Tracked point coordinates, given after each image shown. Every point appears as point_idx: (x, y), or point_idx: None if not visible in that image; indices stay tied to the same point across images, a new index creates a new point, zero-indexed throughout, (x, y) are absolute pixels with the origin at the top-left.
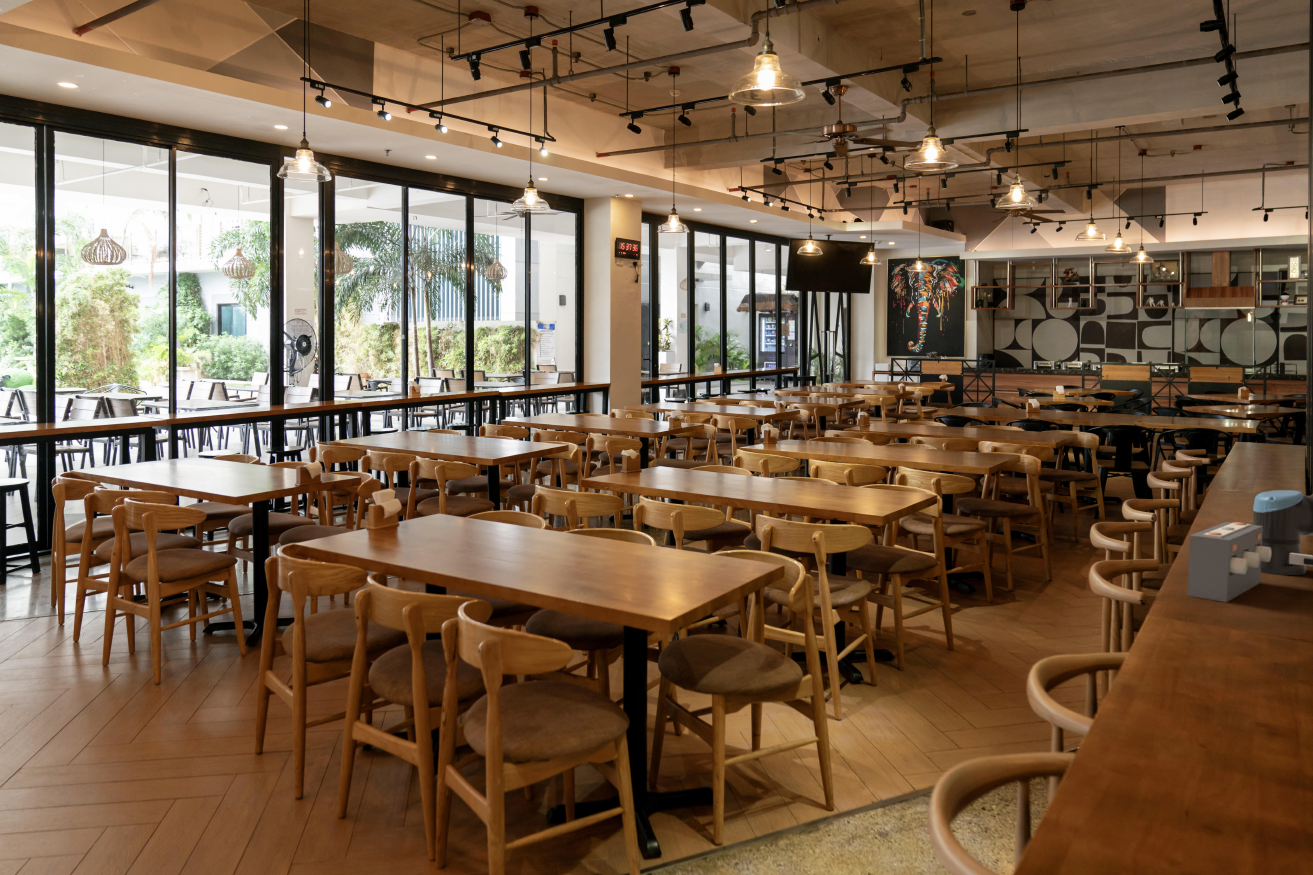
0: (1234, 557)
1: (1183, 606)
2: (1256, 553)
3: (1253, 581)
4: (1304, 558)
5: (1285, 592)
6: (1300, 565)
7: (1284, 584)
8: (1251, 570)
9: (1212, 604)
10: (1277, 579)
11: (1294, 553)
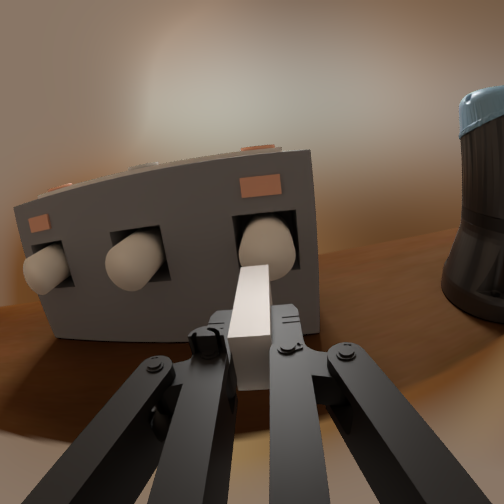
0: (46, 248)
1: (28, 313)
2: (115, 245)
3: None
4: (220, 312)
5: (248, 398)
6: None
7: (375, 361)
8: (214, 294)
9: (43, 329)
10: (419, 330)
11: (260, 272)
